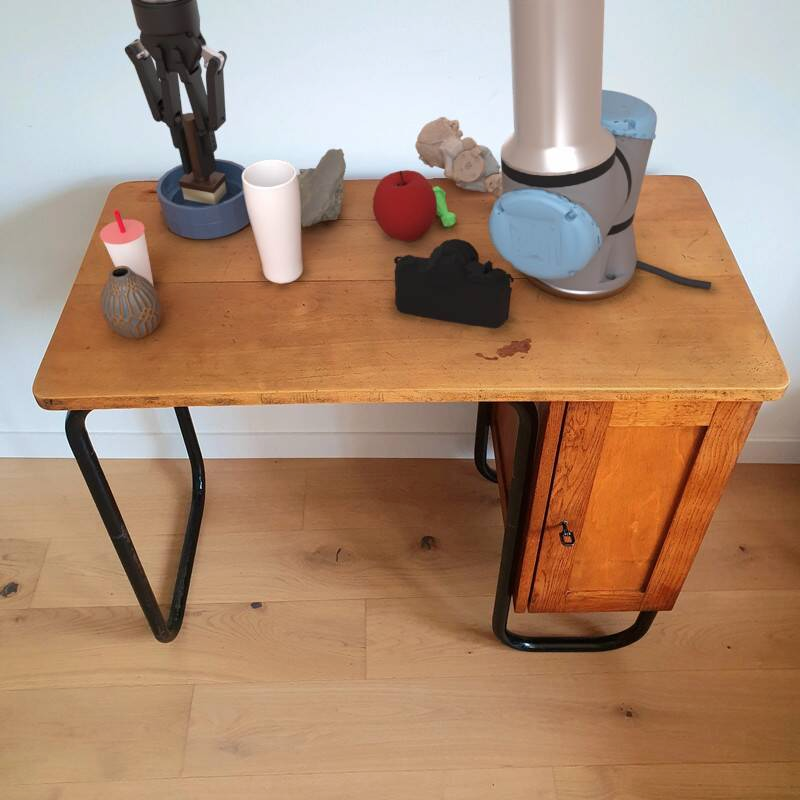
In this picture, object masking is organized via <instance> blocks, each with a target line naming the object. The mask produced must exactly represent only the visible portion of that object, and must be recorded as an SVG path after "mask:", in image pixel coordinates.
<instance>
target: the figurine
mask: <svg viewBox="0 0 800 800" xmlns="http://www.w3.org/2000/svg"><path fill="white" fill-rule="evenodd" d="M463 136H464V132H463V130H461V129H460V121H459V120H458V119H452V120H449V119H448V118H447V117H446V116H440V117H439V118H437V119H434V120H431V121H429V122H428V123H426V124H425V125H424V126H423V127H422V128H421V130H420V132H419V133H418V135H417V137H416V139H417V140H416V142H415V145H414V146H415V149H416V152H417V154H418V160H420V161H421V162H422V163H423V164H424V165H426V166H428V167H430V168H434V167H436V168H439V169H441V170H444V171H443V175H444V177H445V178H446V179H448V180H450V181H454V182H455V186H457V187H458V188H460V189H462V190H466V191H473V192H478V193H479V192H480V193H482V194H483V193H484V194H486V193H488V194H489V195H491V196H492V197H493V198H495V199H496V201H497V200H498V199H499V197H500V196H502V191H503V186H502V171H500V170H501V164H499V162H498V161H497V158H496V157H495V156H494V155H493V152H492V150H491V149H490V148H489V147H488V146H486V145H482V144H478V143H477V142H476V140H475V139H474V138H473V137H471V136H466V137H464V138H462V137H463Z"/></svg>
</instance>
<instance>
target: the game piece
mask: <svg viewBox="0 0 800 800" xmlns="http://www.w3.org/2000/svg"><path fill="white" fill-rule="evenodd" d="M432 188H433V190H434V192H435V195H436V200H437V212H436V216H437V217H440V220H441V222H442V225H443V227H446V228H451V227H453V226H454V224H456V222H457V221H458V220H457V216H456V215H455V213H454V212H451V211H449V210H448V205H447V202H446V196H447V192H446V191H445V190H444V189H442V188H441V187H440V186H433V187H432Z"/></svg>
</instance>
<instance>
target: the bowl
mask: <svg viewBox="0 0 800 800" xmlns="http://www.w3.org/2000/svg"><path fill="white" fill-rule="evenodd" d="M215 162H216V167H217V169H216V170H215V171H214V172H218V173H224V174H225V176H226V180H225V186H226V191H227V193H226V194H225V195H224V196H223V197H222V198H221V200H220V201H219V202H218V203H217V204H215V205H212V204H207V203H202V202H197V201H191V200H186V199H184V196H183V191H182V187H180V186H179V182H178V181H179V180H180V179H181V178H182V177H183V176H184V175H185V174H184V170H183V166H182V163H180V164H178V165H176V166H174V167H173V168H171V169H169V170H167V171H166V172H165V173H164V174H163V175H162V176H161V177H160V178H159V179H158V182H157V184H156V186H155V190H156V194H157V199H158V203H159V206H160V209H161V212H162V218H163V221H164V225H165V226H166V228H167V229H169V230H170V231H171V232H172V233H173V234H176V235H178V236H180V237H183V238H189V239H192V240H193V239H194V240H210V239H211V240H212V239H216V238H221V237H226V236H229V235H231V234H234V233H236V232H238V231H241V229H243V228H245V227H246V226H247V225H249V224H250V219H249V215H248V212H247V207H246V203H245V198H244V192H243V184H242V173H243V171H244V170H245V169H246V168H245V167H244V165H241V164H239V163H237V162H235V161H232V160H227V159H222V158H215Z"/></svg>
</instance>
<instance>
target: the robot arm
mask: <svg viewBox="0 0 800 800" xmlns="http://www.w3.org/2000/svg"><path fill="white" fill-rule="evenodd" d="M605 2H606V1H605V0H507V5H508V6H507V7H508V23H509V24H508V26H509V28H508V29H509V48H510V69H511V71H510V72H511V90H512V91H511V93H512V113H513V115H512V116H513V132H512V133H511V134H510V135H509V136H508V137H507V138H506V139H505V140H504V141H503V143H502V144H501V147H500V170H501V172H502V186H503V191H502V196H500V197H499V199H498V200H497V199H496V201H495V202H494V203H493V205H492V209H491V211H490V214H489V217H488V224H487V225H488V234H489V237H490V240H491V243H492V245H493V247H494V248H495V250H496V251H497V253H498V254H499V256H500V257H501V258H502V259H503V260H505V261H507V262H508V263H510V264H511V265H512V268H514V269H515V270H517V271H519V272H521V273H523V275H524V276H525V278H526V279H527V280H528V281H529V282H530V283H531V284H532V285H534V286H535V287H536V288H537V289H540V290H541V291H543V292H545V293H548V294H550V295H552V296H555V297H559V298H563V299H567V300H572V301H598V300H604V299H608V298H611V297H613V296H616V295H618V294H620V293H622V292H623V291H625V290H626V289H627V288H628V287H629V286H630V285H631V284H632V282H633V280H634V277H635V273H636V270H637V269H639V270H641V271H645V272H648V273H650V274H653V275H655V276H658V277H661V278H664V279H666V280H669V281H671V282H672V283H675V284H679V285H683V286H687V287H692V288H698V289H705V290H711V287H712V282H711V281H706V280H700V279H693V278H687V277H684V276H680V275H678V274H675V273H673V272H670V271H668V270H665V269H663V268H660V267H658V266H655V265H652V264H649V263H647V262H644V261H640V260H638V254H637V247H636V245H637V244H636V238H635V230H634V218H635V215H636V210H637V206H638V202H639V200H640V199H639V198H640V194H641V191H642V186H643V182H644V179H645V174H646V170H647V166H648V161H649V158H650V153H651V149H652V145H653V142H654V140H656V137H657V135H656V130H657V123H658V115H657V112H656V110H655V109H654V107H652V105H650V104H649V103H648V102H646V101H645V100H643V99H641V98H639V97H637V96H634V95H631V94H627V93H625V92H622V91H621V92H620V91H614V90H609V89H603V70H604V69H603V68H604V67H603V66H604V37H605V35H604V34H605V33H604V31H605ZM130 4H131V6H132V10H133V14H134V18H135V23H136V26H137V28H138V30H139V31H140V34H139V38H136V39H134V40H133V41H131V42H130V43H129V44H128V45H126V46H125V47H124V53H125V54H126V55H127V57H128V59H129V60H130V62H131V64H133V67H134V70H135V72H136V75H137V77H138V80H139V82H140V86H141V88H142V91H143V94H144V96H145V99H146V102H147V105H148V108H149V110H150V113H151V116H152V118H153V121H155V122H156V123H160V122H162V123H164V124H165V126H166V127H167V128H168V129H169V134H170V138H171V142H172V146H173V147H174V149H175V150H176V149H177V150H178V153H179V157H180V162H181V164H182V166H183V170H184V174H188V175H189V174H190V173H191V172H192V168H191V163H190V159H189V154H188V150H187V145H186V141H185V136H184V132H183V127H182V123H181V116H182V115H183V114H184V113H183V106H182V98H181V89H180V82H181V83H182V84H183V85H184V88H185V92H186V95H187V98H188V101H189V104H190V108H191V111H192V113H193V115H194V118H195V121H196V124H197V128H198V130H197V131H195V132H194V138H195V142H196V147H197V152H198V156H199V161H200V166H201V171H202V175H203V177H204V178H208V177H209V176H210V175H211V174H212V173H213V172H214V171H215V170H216V169H217V167H216V162H215V159H216V157H215V152H216V151H217V150H218V143H217V137H216V131H218V130H219V128H221V127H222V125H224V124H225V123H226V122H227V114H226V95H225V94H226V93H225V76H224V68H225V65H226V62H227V59H228V55H227V53H226V52H225V51H224V50H219V51H218V52H217V51H216V50H214V49H213V48H211V47H209V46H208V45H207V41H206V39H205V37H204V35H203V33H202V31H201V15H200V11H199V5H198V0H130ZM202 58H203V68H204V69H205V84H204V80H203V76H202V73H203V69H202V65H201V59H202Z"/></svg>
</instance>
